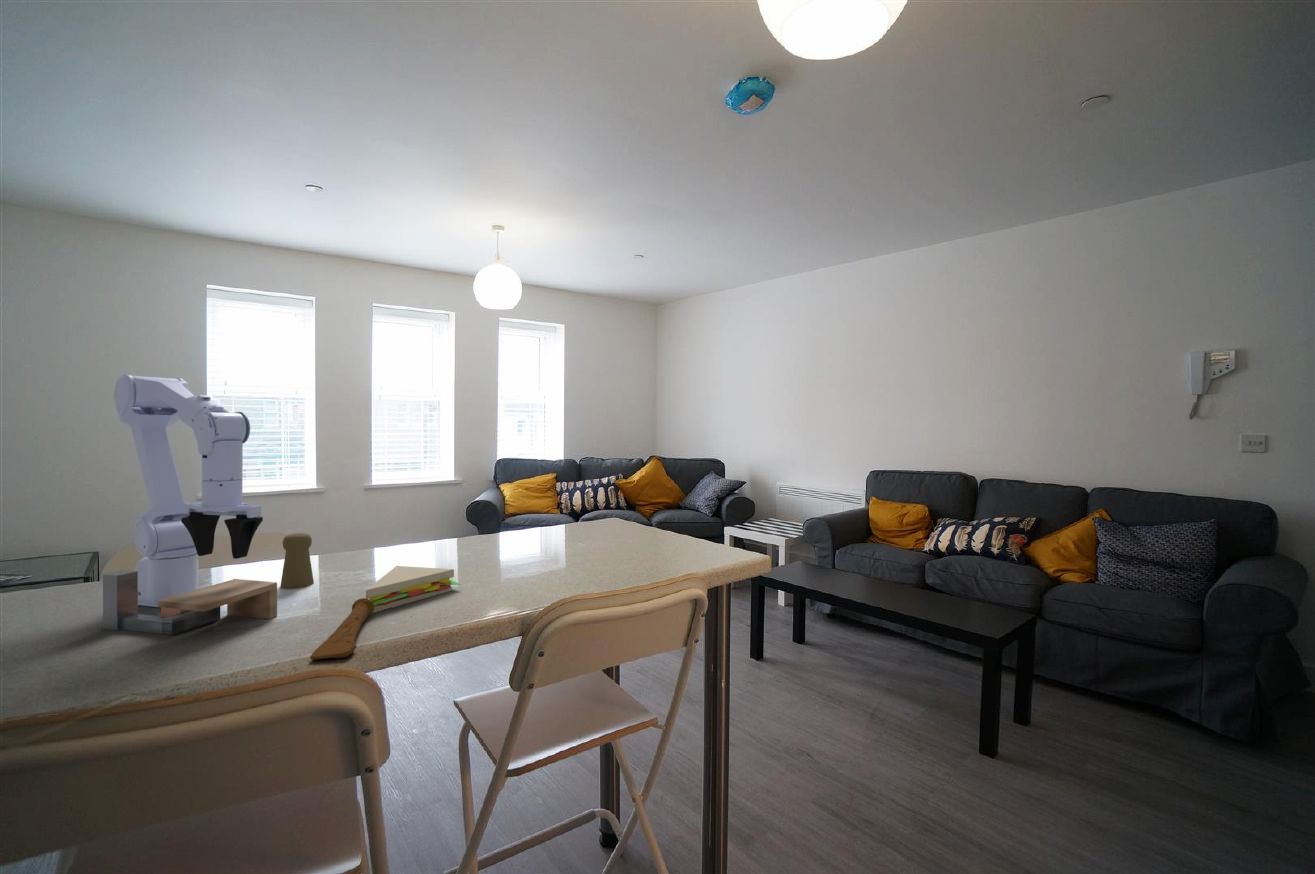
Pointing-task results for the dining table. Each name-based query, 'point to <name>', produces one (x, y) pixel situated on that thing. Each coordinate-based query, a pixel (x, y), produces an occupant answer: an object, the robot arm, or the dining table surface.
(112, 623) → the grey angled block
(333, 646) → the primitive tool
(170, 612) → the cube
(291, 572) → the cork
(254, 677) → the dining table surface
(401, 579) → the sandwich
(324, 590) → the dining table surface
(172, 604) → the cubby
